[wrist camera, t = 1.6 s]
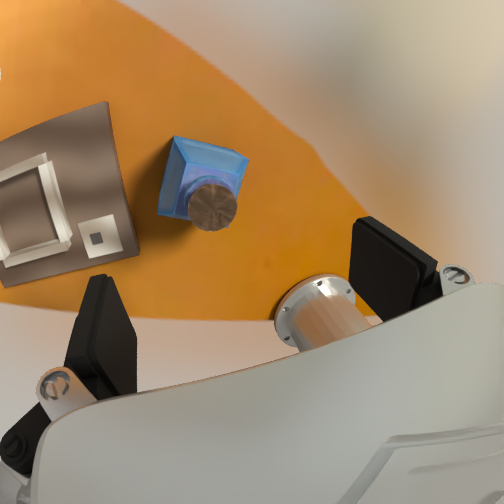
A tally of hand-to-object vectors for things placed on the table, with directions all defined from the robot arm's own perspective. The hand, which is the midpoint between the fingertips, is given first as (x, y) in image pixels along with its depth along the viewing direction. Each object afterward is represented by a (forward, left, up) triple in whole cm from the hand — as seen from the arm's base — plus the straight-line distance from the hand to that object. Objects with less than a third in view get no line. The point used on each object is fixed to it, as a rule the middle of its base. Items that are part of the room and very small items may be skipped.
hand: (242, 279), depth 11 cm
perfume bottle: (0, 0, -21) cm, 21 cm away
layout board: (+1, +17, -21) cm, 27 cm away
